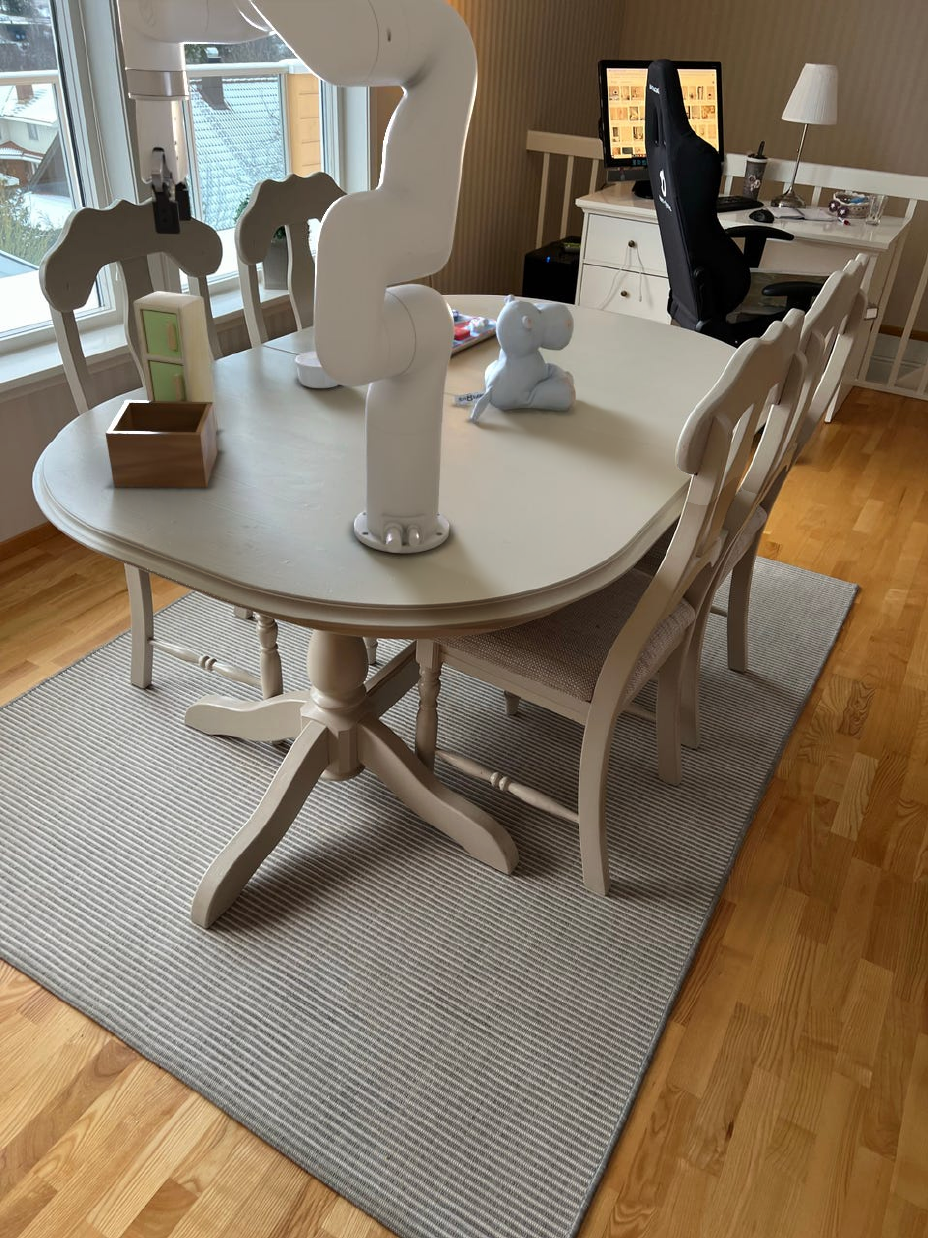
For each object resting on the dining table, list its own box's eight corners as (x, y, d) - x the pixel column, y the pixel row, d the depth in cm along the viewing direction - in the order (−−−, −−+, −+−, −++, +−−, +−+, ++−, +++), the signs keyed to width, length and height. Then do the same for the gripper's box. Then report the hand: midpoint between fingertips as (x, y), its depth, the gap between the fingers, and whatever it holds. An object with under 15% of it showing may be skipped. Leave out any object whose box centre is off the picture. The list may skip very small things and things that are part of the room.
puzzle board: (419, 310, 215) (420, 298, 213) (507, 330, 205) (508, 318, 204) (338, 341, 192) (338, 328, 191) (432, 364, 183) (433, 351, 181)
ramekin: (291, 388, 168) (290, 364, 166) (301, 372, 175) (300, 349, 173) (340, 391, 168) (340, 367, 165) (348, 375, 175) (348, 352, 173)
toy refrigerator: (148, 439, 146) (129, 301, 134) (174, 423, 152) (157, 289, 140) (194, 447, 144) (179, 308, 132) (218, 430, 150) (205, 296, 138)
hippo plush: (593, 413, 165) (607, 307, 155) (471, 423, 158) (477, 312, 148) (552, 379, 179) (563, 280, 169) (438, 386, 173) (442, 283, 163)
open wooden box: (206, 488, 132) (200, 434, 128) (114, 486, 131) (105, 432, 127) (218, 452, 143) (213, 401, 139) (132, 450, 142) (125, 399, 137)
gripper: (141, 80, 128) (158, 214, 138) (113, 89, 114) (134, 238, 123) (197, 82, 129) (210, 216, 138) (176, 91, 115) (192, 239, 124)
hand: (174, 226), depth 131 cm, fingers open, 9 cm apart
